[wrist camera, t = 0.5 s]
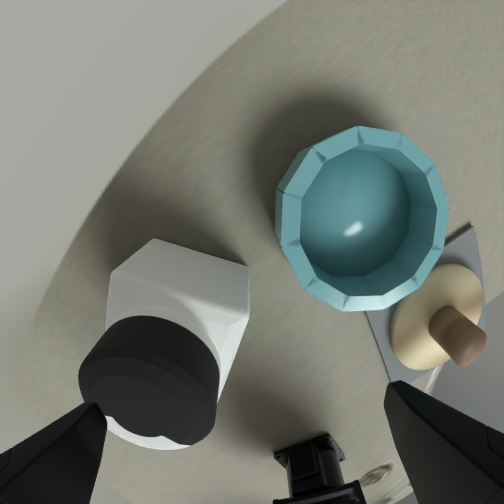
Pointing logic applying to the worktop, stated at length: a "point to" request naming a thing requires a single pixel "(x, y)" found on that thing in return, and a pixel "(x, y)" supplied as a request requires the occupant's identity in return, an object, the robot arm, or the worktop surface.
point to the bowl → (361, 218)
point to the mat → (454, 251)
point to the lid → (439, 320)
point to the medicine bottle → (166, 344)
